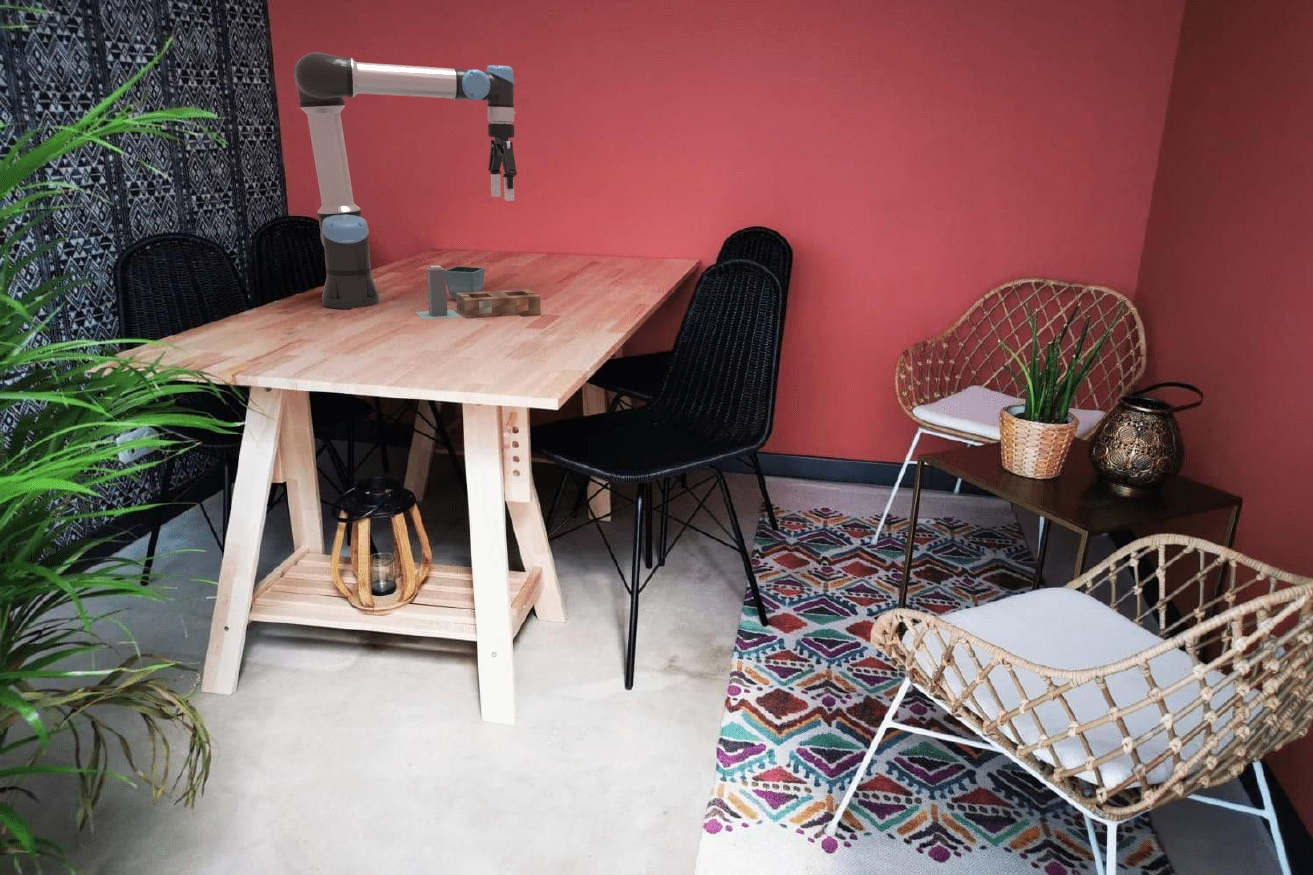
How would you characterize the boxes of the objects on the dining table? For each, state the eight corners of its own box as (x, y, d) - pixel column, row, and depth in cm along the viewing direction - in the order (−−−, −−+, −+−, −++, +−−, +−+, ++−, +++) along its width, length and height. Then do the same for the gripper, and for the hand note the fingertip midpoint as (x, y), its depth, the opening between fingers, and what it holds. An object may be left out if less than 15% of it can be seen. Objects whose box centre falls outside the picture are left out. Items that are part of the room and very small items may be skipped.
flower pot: (474, 304, 264) (473, 272, 261) (445, 302, 265) (443, 270, 262) (486, 298, 272) (485, 267, 269) (457, 297, 273) (456, 266, 270)
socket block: (466, 319, 244) (466, 299, 242) (456, 311, 254) (456, 292, 252) (540, 314, 252) (540, 295, 250) (528, 307, 262) (528, 288, 260)
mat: (422, 321, 241) (422, 319, 241) (415, 313, 250) (415, 312, 249) (461, 318, 245) (461, 317, 245) (452, 311, 254) (452, 309, 253)
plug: (432, 316, 245) (429, 267, 241) (428, 313, 248) (426, 265, 244) (447, 315, 246) (445, 267, 242) (444, 312, 250) (441, 265, 246)
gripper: (527, 124, 262) (527, 202, 269) (501, 122, 284) (502, 195, 290) (501, 123, 259) (502, 202, 266) (476, 121, 280) (478, 195, 287)
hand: (502, 198), depth 278 cm, fingers open, 13 cm apart
